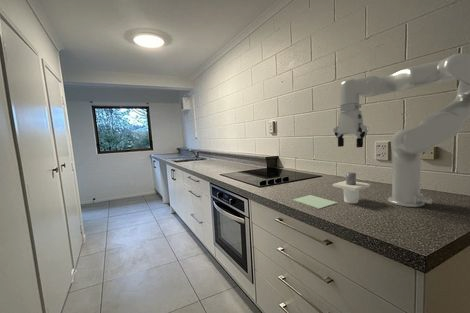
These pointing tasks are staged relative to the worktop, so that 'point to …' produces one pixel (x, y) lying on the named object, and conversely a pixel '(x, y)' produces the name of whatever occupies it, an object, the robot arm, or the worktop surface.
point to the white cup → (351, 196)
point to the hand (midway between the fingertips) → (349, 146)
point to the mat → (315, 201)
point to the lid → (351, 183)
